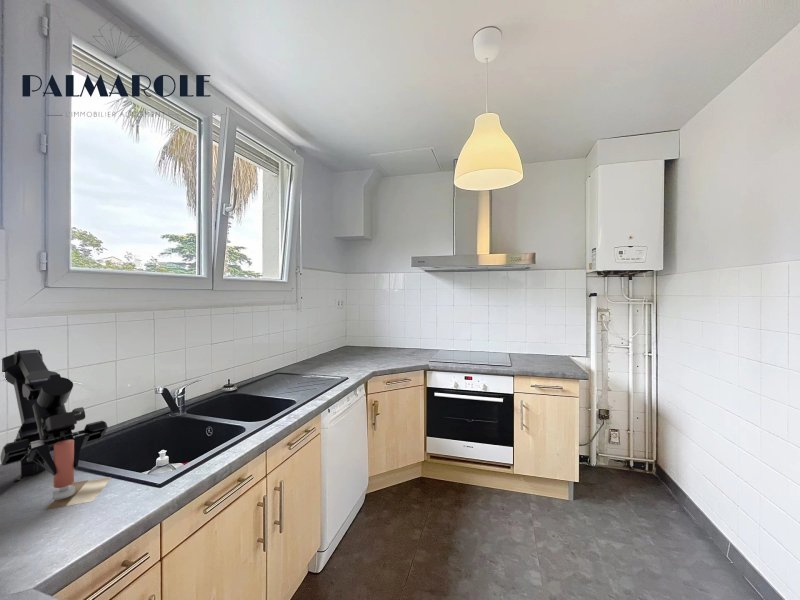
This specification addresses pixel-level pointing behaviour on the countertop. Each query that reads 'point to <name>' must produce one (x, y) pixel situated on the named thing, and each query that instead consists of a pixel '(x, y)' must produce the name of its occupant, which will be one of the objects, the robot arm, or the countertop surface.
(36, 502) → the countertop surface
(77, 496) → the board
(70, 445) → the pink cylinder white base
